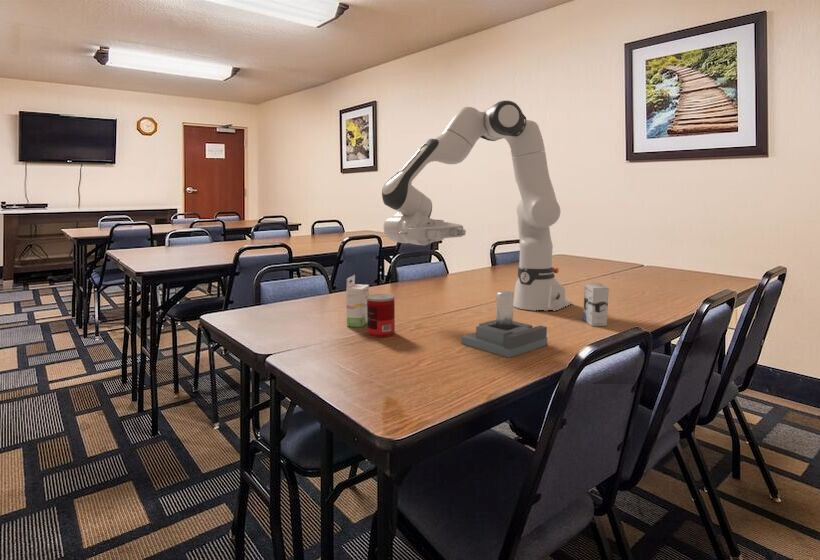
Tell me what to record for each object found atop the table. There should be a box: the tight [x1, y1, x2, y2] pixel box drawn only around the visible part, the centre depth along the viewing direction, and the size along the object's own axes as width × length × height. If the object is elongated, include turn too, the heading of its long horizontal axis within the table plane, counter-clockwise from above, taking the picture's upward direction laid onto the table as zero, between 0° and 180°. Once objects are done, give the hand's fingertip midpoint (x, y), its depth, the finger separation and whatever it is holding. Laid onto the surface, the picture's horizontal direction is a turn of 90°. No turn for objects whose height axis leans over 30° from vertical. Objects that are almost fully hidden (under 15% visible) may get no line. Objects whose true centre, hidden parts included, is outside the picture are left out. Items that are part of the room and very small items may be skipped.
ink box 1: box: [345, 274, 370, 328], centre depth 157 cm, size 9×5×15 cm, turn 168°
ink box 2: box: [582, 282, 610, 327], centre depth 157 cm, size 8×5×12 cm, turn 178°
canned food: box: [367, 293, 396, 338], centre depth 146 cm, size 8×8×11 cm
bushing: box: [495, 290, 515, 331], centre depth 135 cm, size 4×4×12 cm
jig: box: [460, 319, 548, 358], centre depth 136 cm, size 16×16×5 cm
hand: (453, 233), depth 151 cm, fingers open, 8 cm apart
